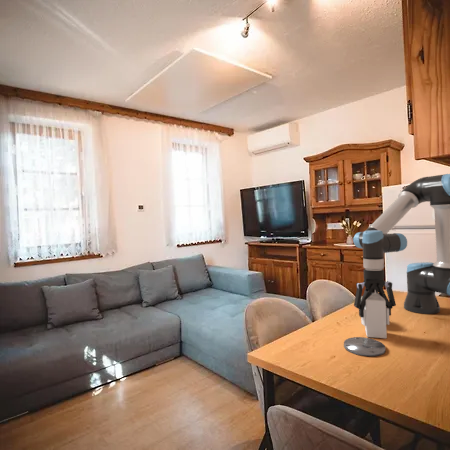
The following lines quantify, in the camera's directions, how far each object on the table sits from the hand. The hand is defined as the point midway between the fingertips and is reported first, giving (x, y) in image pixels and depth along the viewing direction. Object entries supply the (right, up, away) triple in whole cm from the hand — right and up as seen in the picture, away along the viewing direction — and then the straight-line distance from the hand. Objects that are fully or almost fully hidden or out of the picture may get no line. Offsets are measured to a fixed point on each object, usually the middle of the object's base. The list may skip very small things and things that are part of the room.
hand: (375, 324), depth 127 cm
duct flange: (-9, -5, -11) cm, 16 cm away
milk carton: (0, -5, 0) cm, 5 cm away
